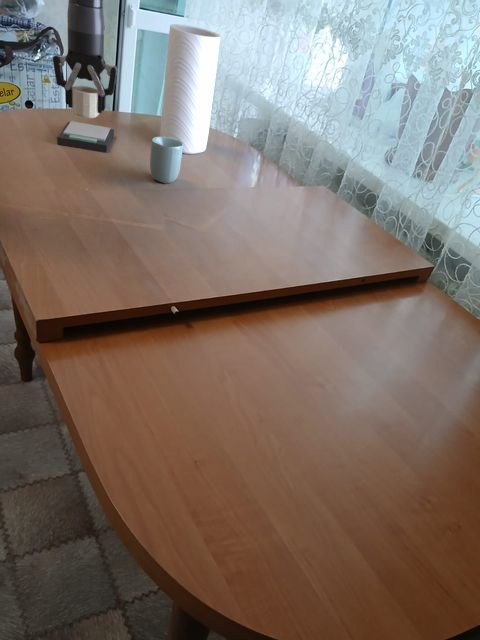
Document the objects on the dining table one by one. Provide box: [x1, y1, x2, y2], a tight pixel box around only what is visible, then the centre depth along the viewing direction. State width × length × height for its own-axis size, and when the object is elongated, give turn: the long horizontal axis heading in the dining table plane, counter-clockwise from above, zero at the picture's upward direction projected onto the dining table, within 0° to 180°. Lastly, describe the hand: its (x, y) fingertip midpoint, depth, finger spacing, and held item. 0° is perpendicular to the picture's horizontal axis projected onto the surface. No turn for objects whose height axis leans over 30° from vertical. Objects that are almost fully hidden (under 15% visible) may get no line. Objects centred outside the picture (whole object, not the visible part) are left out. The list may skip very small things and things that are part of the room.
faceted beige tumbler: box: [71, 85, 100, 119], centre depth 126 cm, size 6×6×6 cm
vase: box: [159, 23, 221, 155], centre depth 158 cm, size 14×14×32 cm
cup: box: [149, 135, 183, 184], centre depth 140 cm, size 8×8×10 cm
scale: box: [56, 120, 115, 153], centre depth 154 cm, size 13×15×3 cm
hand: (85, 109), depth 127 cm, fingers closed on faceted beige tumbler, 6 cm apart
